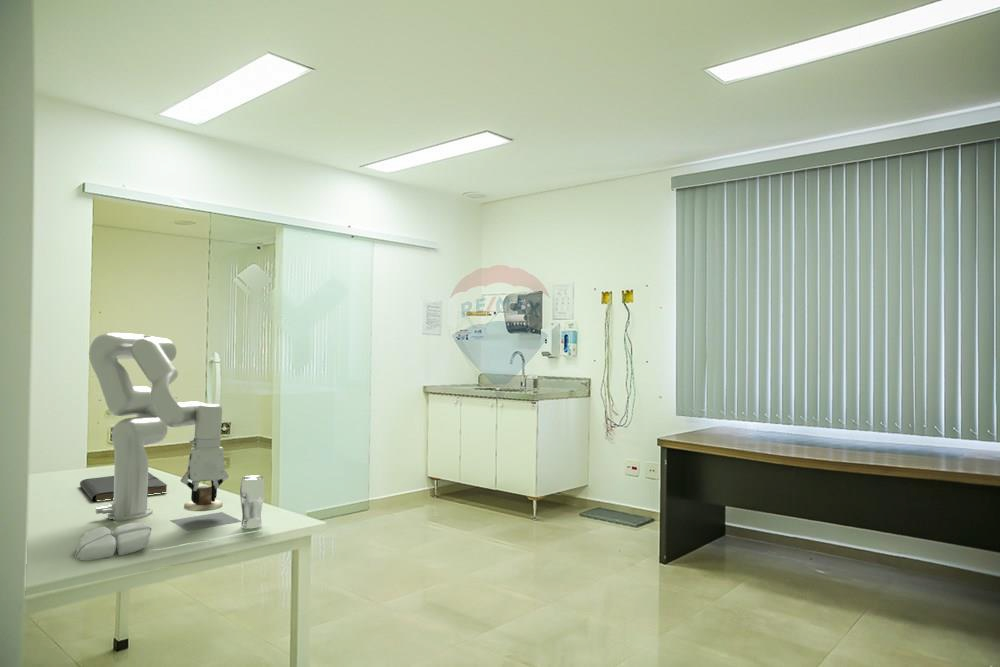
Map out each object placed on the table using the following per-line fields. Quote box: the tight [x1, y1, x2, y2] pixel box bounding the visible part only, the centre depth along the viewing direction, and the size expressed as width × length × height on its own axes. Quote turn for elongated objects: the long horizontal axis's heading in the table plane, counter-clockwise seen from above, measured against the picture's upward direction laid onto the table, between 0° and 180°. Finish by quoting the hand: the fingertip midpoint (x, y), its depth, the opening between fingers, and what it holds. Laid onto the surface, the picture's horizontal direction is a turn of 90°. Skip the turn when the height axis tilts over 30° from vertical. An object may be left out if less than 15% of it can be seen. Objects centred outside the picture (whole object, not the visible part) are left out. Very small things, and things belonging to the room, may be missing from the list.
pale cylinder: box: [239, 475, 265, 529], centre depth 195 cm, size 7×7×15 cm
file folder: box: [79, 471, 168, 502], centre depth 244 cm, size 33×4×24 cm
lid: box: [183, 485, 224, 512], centre depth 200 cm, size 11×11×6 cm
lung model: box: [74, 522, 152, 561], centre depth 175 cm, size 7×17×25 cm
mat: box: [170, 511, 242, 532], centre depth 199 cm, size 16×16×1 cm
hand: (203, 501), depth 200 cm, fingers closed on lid, 4 cm apart
